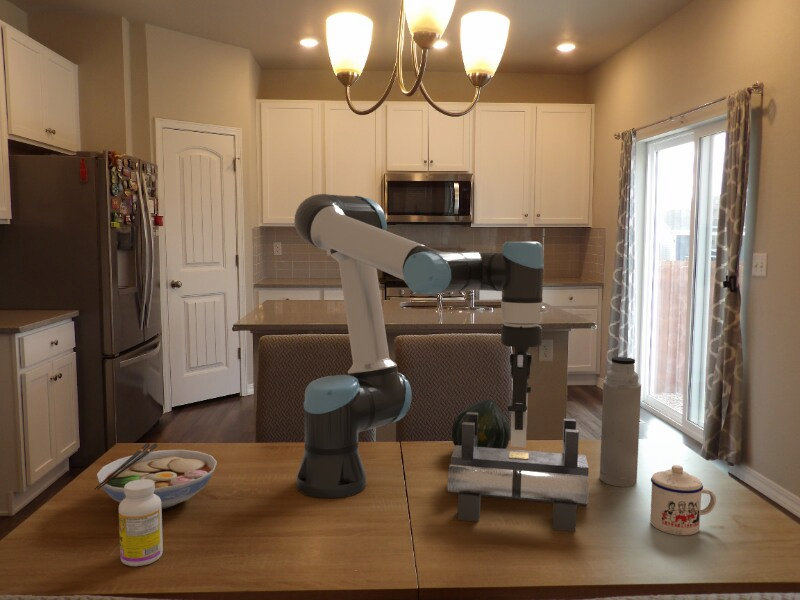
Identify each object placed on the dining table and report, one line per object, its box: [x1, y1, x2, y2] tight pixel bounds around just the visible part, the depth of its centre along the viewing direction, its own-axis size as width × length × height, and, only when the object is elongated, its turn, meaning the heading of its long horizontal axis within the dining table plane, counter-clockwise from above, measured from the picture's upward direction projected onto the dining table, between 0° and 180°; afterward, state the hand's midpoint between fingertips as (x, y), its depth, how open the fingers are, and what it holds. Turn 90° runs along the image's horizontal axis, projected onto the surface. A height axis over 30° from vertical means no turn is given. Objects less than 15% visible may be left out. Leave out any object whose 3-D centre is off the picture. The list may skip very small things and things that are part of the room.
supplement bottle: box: [118, 479, 164, 567], centre depth 107 cm, size 7×7×13 cm
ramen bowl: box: [93, 442, 218, 510], centre depth 130 cm, size 25×23×8 cm
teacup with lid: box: [649, 464, 717, 536], centre depth 122 cm, size 12×9×12 cm
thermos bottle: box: [599, 356, 642, 488], centre depth 144 cm, size 8×8×28 cm
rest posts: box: [457, 492, 578, 532], centre depth 123 cm, size 22×4×5 cm, turn 78°
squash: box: [451, 398, 511, 449], centre depth 161 cm, size 14×15×15 cm
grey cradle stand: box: [450, 412, 589, 507], centre depth 137 cm, size 28×10×16 cm, turn 78°
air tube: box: [447, 464, 590, 505], centre depth 123 cm, size 26×5×5 cm, turn 78°
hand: (519, 435), depth 122 cm, fingers open, 13 cm apart
